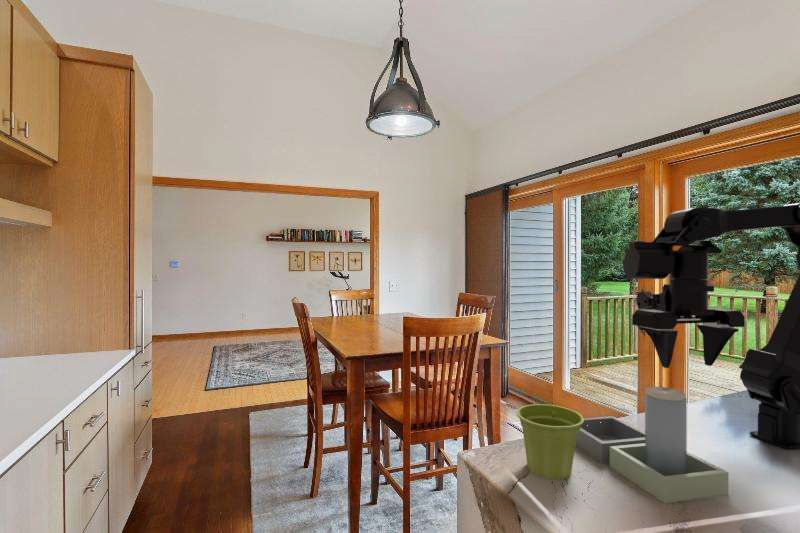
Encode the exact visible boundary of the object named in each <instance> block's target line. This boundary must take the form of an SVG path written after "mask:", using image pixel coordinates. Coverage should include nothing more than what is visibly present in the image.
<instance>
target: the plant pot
mask: <svg viewBox="0 0 800 533" xmlns="http://www.w3.org/2000/svg"><path fill="white" fill-rule="evenodd" d="M516 415H517V418H519V422H520V425H521V428H522V433H523V434H522V435H523V440H524V446H525V447H524V448H525V456H526V465H527V468H528V470H529V471H530V472H531V473H533V474H534V475H536V476H539V477H541V478H543V479H544V478H545V479H550V480H563V479H567V478H569V477H570V476H572V475H571V474H572V471H573V470H572V469H573V464H574V456H575V451H576V447H577V446H576V440H577V435H578V433H579V431H580V426H581V425H582V424H583V423H584V417H583V415H582V414H581V413H580V412H578V411H576V410H573V409H570V408H567V407H563V406H560V405H555V404H545V403H544V404H543V403H537V404H536V403H535V404H533V403H532V404H527V405H523V406H521V407H519V408H518V409H517V410H516Z"/></svg>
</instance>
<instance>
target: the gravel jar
mask: <svg viewBox="0 0 800 533" xmlns="http://www.w3.org/2000/svg"><path fill="white" fill-rule="evenodd" d="M644 432H645V465H647V466H648V467H650V468H652V469H653V470H655V471H657V472H659V473H660V474H662V475H664V476H670V475H679V474H687V452H688V451H687V449H688V448H687V446H688V445H687V443H688V442H687V398H686V394H685V392H684V391H681V390H679V389H675V388H671V387H664V386H650V387H646V388H645V393H644Z"/></svg>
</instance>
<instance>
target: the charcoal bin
mask: <svg viewBox="0 0 800 533" xmlns="http://www.w3.org/2000/svg"><path fill="white" fill-rule="evenodd" d="M583 418H584V417H583ZM600 422H601V423H600ZM587 425H588V426H587ZM641 443H645V430H644V431H643V430H641V429H640V428H637V427H635V426H634V425H631V424H630V423H628V422H625V421H624V420H623V419H622V420H621V419H619V418H617V417H615V416H613V415H610V416H598V417H597V416H596V417H586V418H584V423H583V424H582V425H581V426H580V431H579V433H578V435H577V440H576V446H575V447H577V448H578V449H580V450H581V451H583V452H584V453H585V454H587V455H588V456H590V457H592V458H593V459H594V460H596V461H598V463H600V464H610V446H620V445H631V444H641Z"/></svg>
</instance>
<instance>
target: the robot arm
mask: <svg viewBox="0 0 800 533" xmlns="http://www.w3.org/2000/svg"><path fill="white" fill-rule="evenodd" d="M777 227H780V228H781V229H782V230H783V231H784V233H785V236H786V237H787V238H786V239H787V240H788V242H790V244H792V245H793V246H795V247H796V248H797V249H798V250H797V254H796V262H797V265H798V269H799V271H800V202H797V203H791V204H785V205H780V206H779V205H778V206H777V205H776V206H768V207H767V206H766V207H759V208H758V207H757V208H746V209H736V210H730V209H729V210H728V209H722V208H715V207H704V206H703V207H702V206H699V207H697V206H696V207H692V208H687V209H683V210H677V211H674V212H673V211H672V212H671V213H669V215H668V216H667V217H666V219H665V221H664V225H663V228H662V229H661V230H660V232H658V234H657V235H656V237H654V239H653V240H652V241H644V240H633V241H632V240H631V241H629V244H628V245H629V247H628V249H627V250H626V252H625V253H624V258H623V259H622V269H623V273H624V274H625V276H626V277H627V279H631V280H637V279H638V280H640V279H641V280H664V279H665V278H667V277H668V276H669V279H668V281H669V282H668V283H669V284H668V283H667V284H664V283H663V286H662V289H661V292H660V293H652V292H651V291H650V290H647V291H646V290H645V291H644V290H642V291H639V292H637V294H636V301H635V302H636V306H637V308H638V309H635V311H634V312H633V314H632V316H631V320H632V322H631V324H632V326H637V327H638V329H639V330H641V331H643V332H644V333H646V334H647V335H648V337H650V339H651V341H652V343H653V346H654V348H655V351H656V354H657V356H658V359H659V361H660V364H661V367H662V368H665V369H669V368H670V365H671V363H672V359H673V355H674V351H675V346H676V341H677V337H678V333H679V331H678V330H674V328H675V327H676V326H677V325H678V324H679V325H680V324H696V327H697V328H698V330H699V331H700V333H701V334H702V343H703V344H702V346H703V347H702V350H703V351H702V352H703V360H704V361H703V362H704V365H706V366H708V367H712V366H713V365H714V363H715V361H717V358H718V357H719V355H720V354H721V352H722V350H724V348H725V346H726V345H727V343H728V342H729V341H730V340H731V338H732V337H733V336H734V334H736V333H738V332H739V328H743V327H744V328H745V326H746V325H745V322H746V321H745V318H746V317H745V315H744V314H743V313H742V312H741V311H740V310H737V309H736V310H735V309H725V308H718V307H716V308H715V307H714V308H713V307H711V308H709V307H708V306H709V301H708V299H709V298H708V297H709V292H710V293H711V292H715V285H709V255H712V254H713V255H717V254H718V255H719V254H721V253H722V252H723V251H722V249H721V248H719V247H718V246H717V245H715V244H714V243H713V242H712V240H710V239H712V238H716V237H719V236H722V235H724V234H727V233H731V232H735V231H736V232H738V231H747V230H757V229H758V230H759V229H768V228H769V229H770V228H777ZM695 241H701V242H700V243H698V244H692V243H694V242H695ZM673 247H678V249H677V250H673ZM738 369H741V370H740V374H739V378H740V379H739V380H741V382H742V384H743V386H744V388H746V390H747V393H748V397H749V398H750V399H751V400H756V401H758V402H760V403H758V413H757V430H753V431H749V435H750V436H753V437H755V438H758V439H760V440H763V441H766V442H768V443H770V444H773V445H776V446H779V447H782V448H784V449H787V450H792V449H798V448H799V449H800V273H799V274H798V277H797V279H796V281H795V282H794V286H793V288H792V290H791V292H790V294H789V297H788V298H787V300H786V304H785V305H784V307H783V309H782V312H781V314H780V316H779V318H778V320H777V322H776V325H775V327H774V329H773V332H772V334H771V336H770V337H769V340H768V342H767V344H766V345H763V347H761V348H760V349H755V348H749V349H748V350H746V353H745V357H744V360H743V362H742V363H741V364H740V365H739V367H738Z"/></svg>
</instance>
